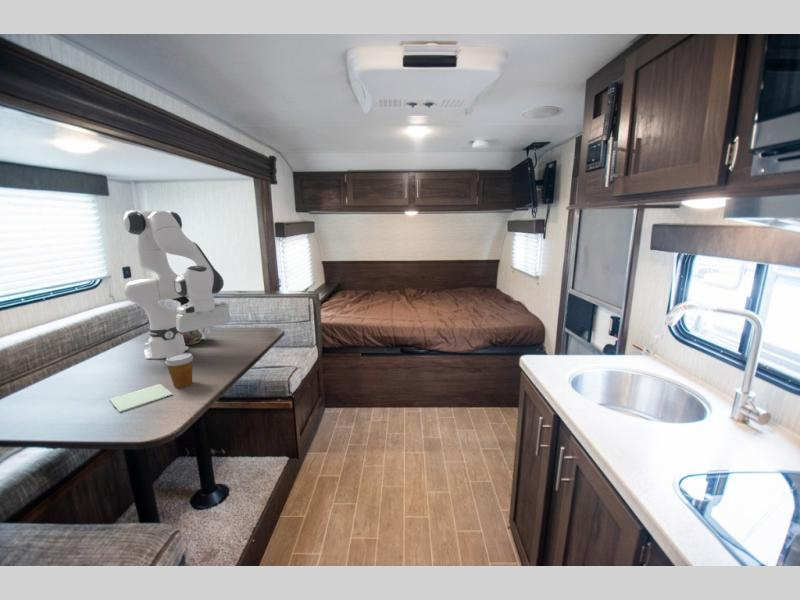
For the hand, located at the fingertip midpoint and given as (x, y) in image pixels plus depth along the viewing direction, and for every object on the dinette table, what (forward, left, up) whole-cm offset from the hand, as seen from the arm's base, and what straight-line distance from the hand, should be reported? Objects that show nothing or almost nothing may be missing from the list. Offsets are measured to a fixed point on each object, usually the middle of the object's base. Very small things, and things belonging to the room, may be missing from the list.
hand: (206, 337), depth 141 cm
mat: (0, -25, -17) cm, 30 cm away
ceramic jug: (-55, +12, -17) cm, 59 cm away
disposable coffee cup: (0, -11, -17) cm, 20 cm away
